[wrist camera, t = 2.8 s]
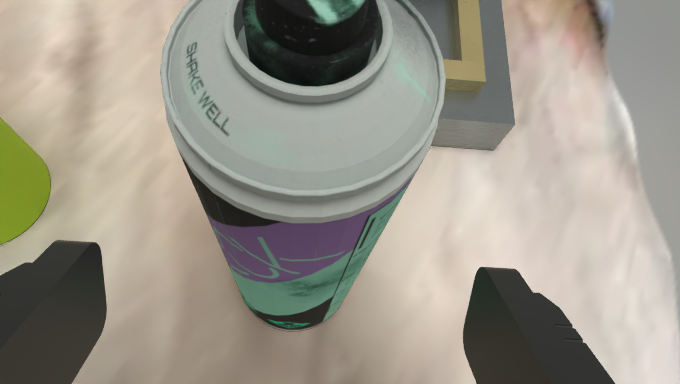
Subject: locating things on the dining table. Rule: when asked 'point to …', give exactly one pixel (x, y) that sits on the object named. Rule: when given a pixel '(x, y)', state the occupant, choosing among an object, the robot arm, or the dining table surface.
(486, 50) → the grey and tan frame
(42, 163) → the soap dispenser
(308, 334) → the dining table surface
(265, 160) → the spray can
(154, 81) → the dining table surface
